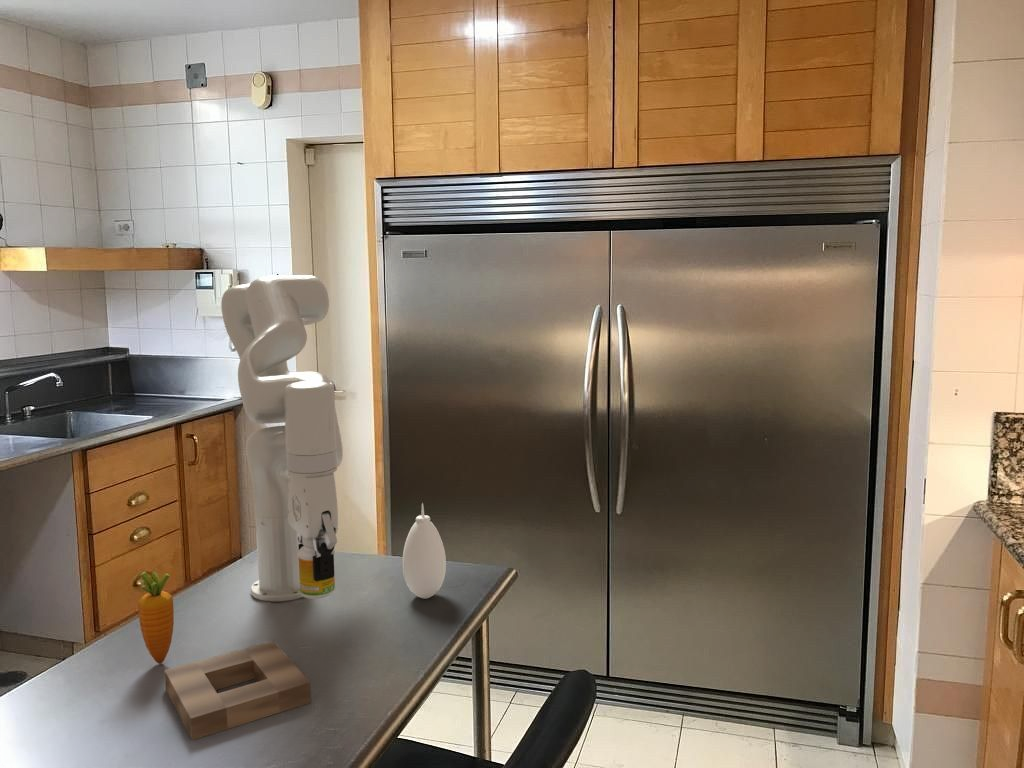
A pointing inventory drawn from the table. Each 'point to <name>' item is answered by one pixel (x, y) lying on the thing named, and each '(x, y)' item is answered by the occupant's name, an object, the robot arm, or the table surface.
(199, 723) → the bore block
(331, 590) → the supplement bottle
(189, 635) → the table surface
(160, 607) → the carrot
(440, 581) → the white air blower bulb
